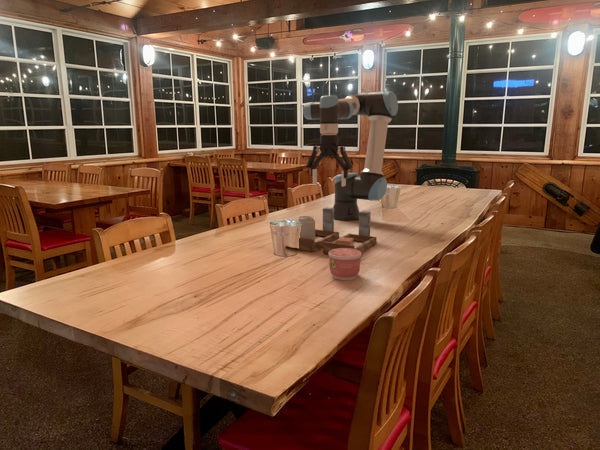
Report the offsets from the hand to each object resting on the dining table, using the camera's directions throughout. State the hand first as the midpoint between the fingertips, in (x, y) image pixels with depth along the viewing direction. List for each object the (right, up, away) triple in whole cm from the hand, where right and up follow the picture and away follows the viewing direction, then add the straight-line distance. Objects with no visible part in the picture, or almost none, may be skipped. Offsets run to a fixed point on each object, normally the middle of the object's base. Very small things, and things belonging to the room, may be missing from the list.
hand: (329, 185), depth 186 cm
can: (-10, -26, -10) cm, 29 cm away
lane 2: (+9, -26, -12) cm, 30 cm away
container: (+2, -34, -45) cm, 56 cm away
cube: (+5, -27, -18) cm, 33 cm away
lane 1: (-6, -24, -4) cm, 25 cm away
